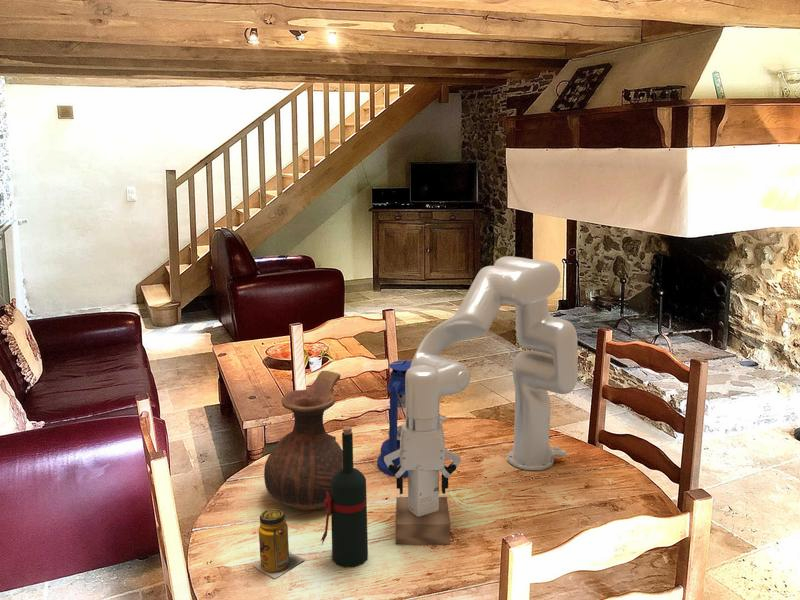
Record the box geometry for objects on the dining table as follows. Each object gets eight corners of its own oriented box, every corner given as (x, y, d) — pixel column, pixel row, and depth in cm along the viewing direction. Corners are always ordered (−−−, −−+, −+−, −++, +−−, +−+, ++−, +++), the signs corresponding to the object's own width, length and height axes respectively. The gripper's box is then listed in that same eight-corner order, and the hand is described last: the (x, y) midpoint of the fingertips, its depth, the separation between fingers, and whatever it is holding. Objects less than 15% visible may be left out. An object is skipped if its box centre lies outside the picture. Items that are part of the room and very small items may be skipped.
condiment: (252, 566, 152) (249, 515, 149) (282, 548, 158) (280, 499, 155) (274, 579, 147) (271, 527, 145) (305, 561, 154) (303, 510, 151)
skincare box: (417, 518, 161) (417, 468, 158) (406, 509, 164) (406, 460, 162) (440, 510, 164) (440, 461, 161) (429, 501, 168) (429, 454, 165)
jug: (364, 509, 174) (362, 393, 167) (277, 528, 166) (271, 407, 159) (337, 471, 194) (334, 365, 187) (257, 486, 186) (251, 377, 179)
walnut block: (446, 515, 171) (446, 496, 170) (449, 544, 159) (450, 524, 158) (396, 516, 171) (396, 497, 170) (396, 544, 159) (395, 524, 158)
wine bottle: (318, 551, 157) (314, 424, 150) (363, 544, 160) (361, 418, 153) (324, 572, 150) (320, 439, 143) (372, 564, 152) (370, 433, 145)
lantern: (393, 447, 208) (392, 348, 201) (441, 456, 202) (442, 355, 195) (365, 472, 193) (363, 367, 186) (417, 483, 187) (417, 374, 180)
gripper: (460, 414, 163) (459, 483, 167) (384, 414, 163) (384, 483, 167) (462, 427, 155) (461, 499, 159) (383, 428, 155) (383, 499, 159)
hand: (422, 491), depth 163 cm, fingers open, 9 cm apart
